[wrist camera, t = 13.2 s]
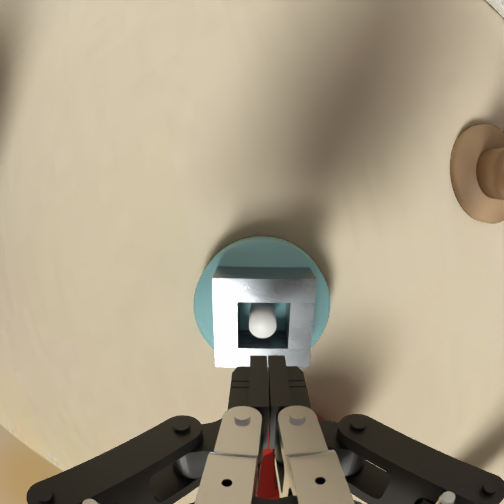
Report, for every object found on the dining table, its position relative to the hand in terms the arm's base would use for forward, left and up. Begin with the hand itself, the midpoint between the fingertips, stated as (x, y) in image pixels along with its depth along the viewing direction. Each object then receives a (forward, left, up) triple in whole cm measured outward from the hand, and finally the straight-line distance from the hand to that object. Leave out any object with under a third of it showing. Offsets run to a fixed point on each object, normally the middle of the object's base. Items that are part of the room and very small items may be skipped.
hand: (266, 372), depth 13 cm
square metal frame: (0, 0, -8) cm, 8 cm away
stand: (-6, -20, -10) cm, 23 cm away
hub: (0, 0, -10) cm, 10 cm away
